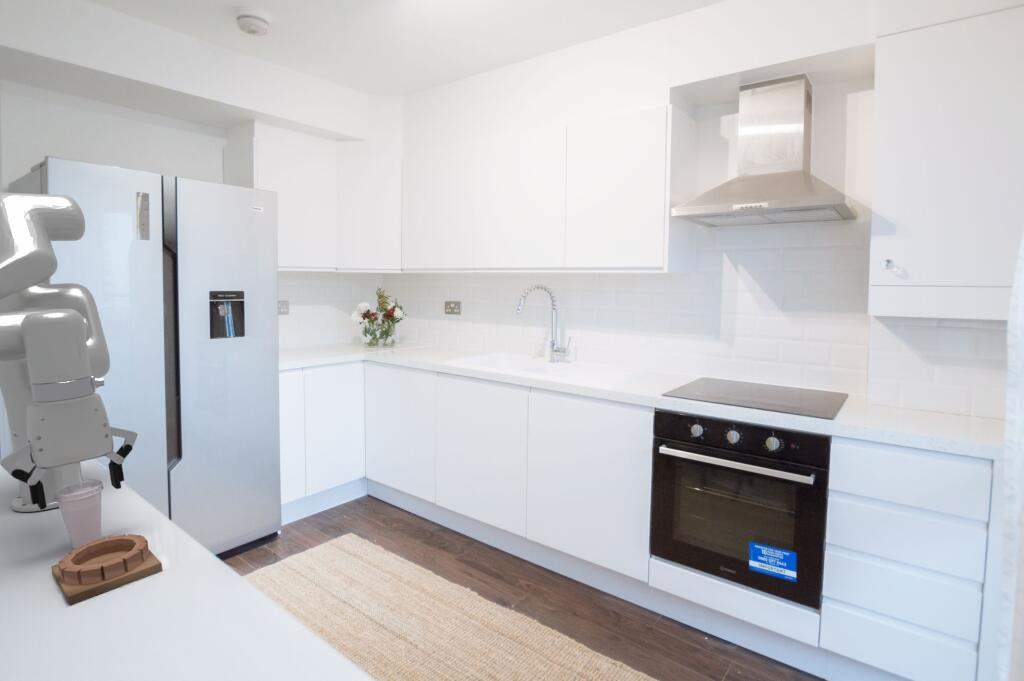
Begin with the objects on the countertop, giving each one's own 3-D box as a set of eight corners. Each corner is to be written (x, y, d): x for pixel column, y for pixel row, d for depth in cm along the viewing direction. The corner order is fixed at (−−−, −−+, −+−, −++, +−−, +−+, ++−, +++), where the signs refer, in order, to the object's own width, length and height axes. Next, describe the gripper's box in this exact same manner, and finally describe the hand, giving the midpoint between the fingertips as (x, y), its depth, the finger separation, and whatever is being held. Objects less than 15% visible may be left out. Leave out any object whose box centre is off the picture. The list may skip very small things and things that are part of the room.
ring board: (52, 573, 84) (49, 553, 83) (138, 544, 92) (136, 525, 91) (69, 605, 76) (65, 583, 75) (162, 570, 84) (159, 550, 83)
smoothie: (85, 555, 89) (71, 469, 87) (51, 552, 90) (37, 467, 88) (120, 535, 95) (109, 455, 93) (88, 533, 96) (76, 453, 94)
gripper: (122, 378, 98) (136, 475, 100) (-14, 399, 85) (6, 509, 87) (135, 383, 92) (149, 484, 95) (-8, 405, 80) (12, 522, 82)
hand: (80, 496), depth 91 cm, fingers open, 9 cm apart
